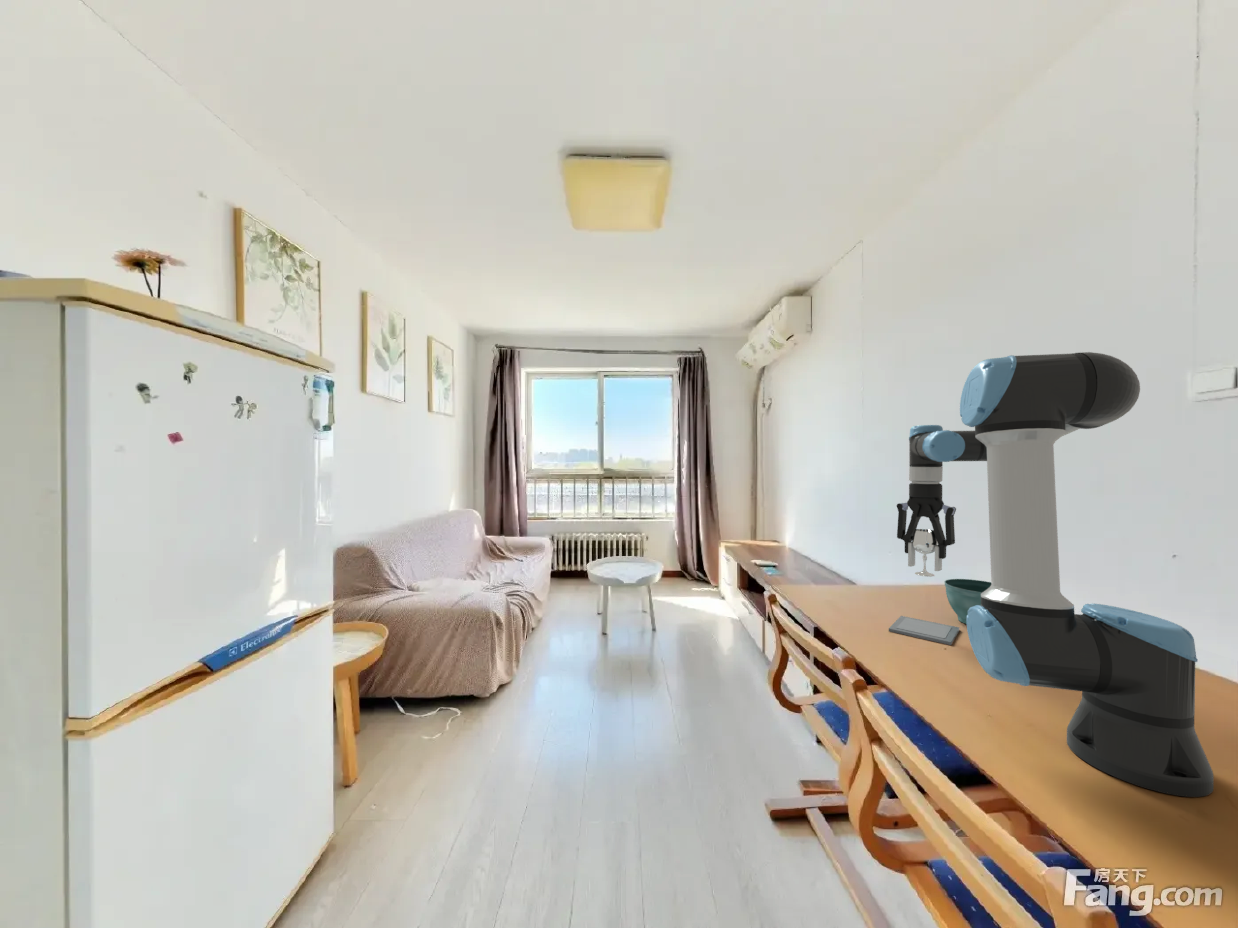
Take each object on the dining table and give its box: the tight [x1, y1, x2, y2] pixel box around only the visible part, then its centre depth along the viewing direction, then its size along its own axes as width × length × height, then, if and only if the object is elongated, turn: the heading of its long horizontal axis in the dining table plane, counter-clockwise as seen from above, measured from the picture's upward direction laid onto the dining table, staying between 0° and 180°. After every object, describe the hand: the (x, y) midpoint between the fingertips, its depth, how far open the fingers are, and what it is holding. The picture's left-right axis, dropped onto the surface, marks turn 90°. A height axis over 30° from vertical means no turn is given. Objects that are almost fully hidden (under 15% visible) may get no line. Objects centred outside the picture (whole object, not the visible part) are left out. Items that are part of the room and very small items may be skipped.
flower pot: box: [944, 578, 991, 625], centre depth 133 cm, size 16×16×11 cm
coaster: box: [888, 615, 960, 646], centre depth 127 cm, size 14×14×1 cm
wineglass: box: [912, 528, 938, 578], centre depth 126 cm, size 6×6×12 cm
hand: (924, 567), depth 126 cm, fingers closed on wineglass, 6 cm apart
